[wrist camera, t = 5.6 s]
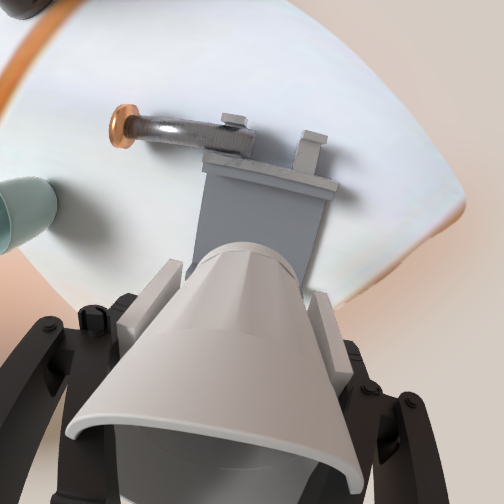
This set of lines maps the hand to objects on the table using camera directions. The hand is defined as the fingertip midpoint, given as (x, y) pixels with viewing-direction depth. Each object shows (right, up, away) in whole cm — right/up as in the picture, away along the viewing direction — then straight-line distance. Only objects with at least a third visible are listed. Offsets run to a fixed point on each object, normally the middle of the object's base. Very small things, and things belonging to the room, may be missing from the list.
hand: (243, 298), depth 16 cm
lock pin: (-6, +14, +10) cm, 18 cm away
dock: (+1, +5, +14) cm, 15 cm away
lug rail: (+3, +13, +11) cm, 17 cm away
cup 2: (0, 0, +1) cm, 1 cm away
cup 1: (-27, +9, +14) cm, 32 cm away
